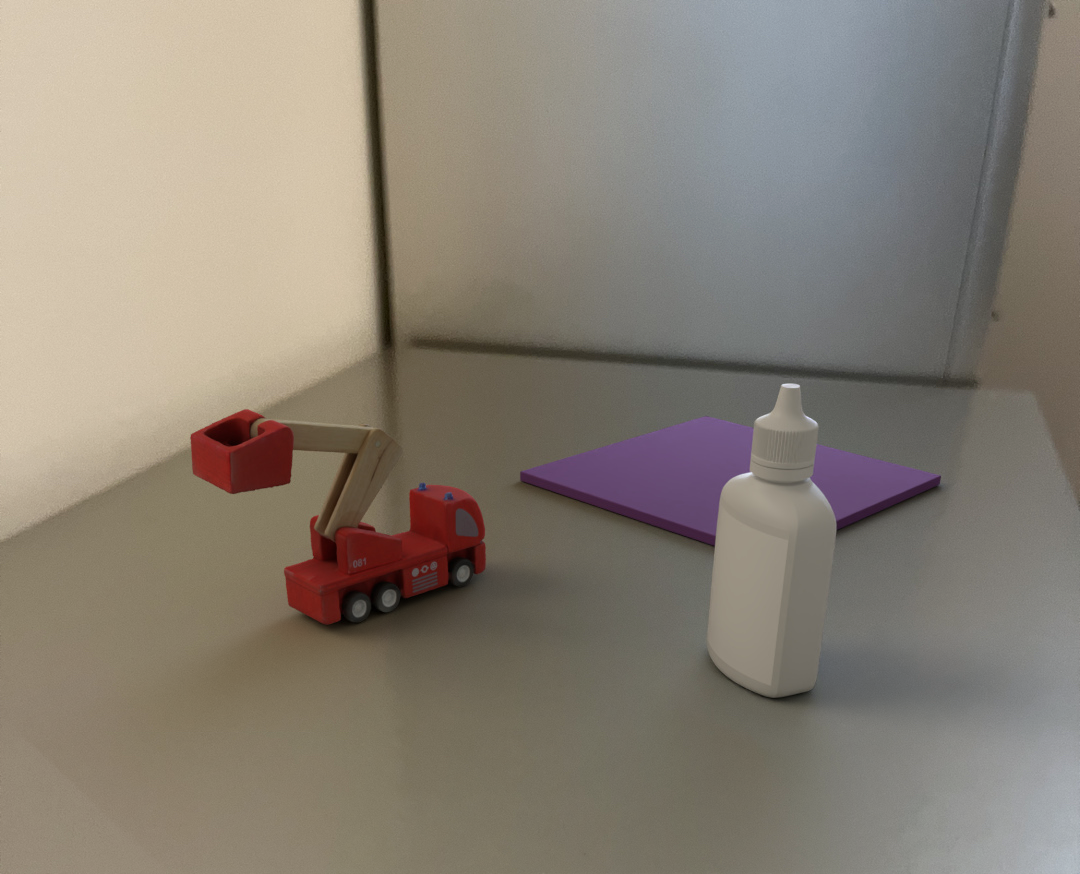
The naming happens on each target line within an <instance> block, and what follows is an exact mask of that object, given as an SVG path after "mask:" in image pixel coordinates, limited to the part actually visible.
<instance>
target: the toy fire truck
mask: <svg viewBox="0 0 1080 874" xmlns="http://www.w3.org/2000/svg"><path fill="white" fill-rule="evenodd" d="M189 439H190V450H191V470H192V474H193V475H194V476H195V477H197V478H199V479H201V480H203V481H205V482H207V483H209V484H211V485H213V486H214V487H217V488H218V489H220V490H222V491H224V492H226V493H227V494H230V495H237V494H240V493H247V492H254V491H259V490H262V489H268V488H269V489H273V488H274V487H276V488H277V487H280V486H285V485H290V484H291V482H292V480H291V479H292V469H293V456H294V454H293V451H305V452H319V453H321V452H323V453H339V454H341V453H342V454H344V455H343V457H342V460H341V461H340V465H338V466H339V467H338V469H337V471H336V473H335V476H334V478H333V481H332V483H331V486H330V488H329V491H328V493H327V495H326V497H325V500H324V502H323V504H322V507H321V509H320V512H319V514H316V515H313V516H312V517H311V518H310V521H309V532H310V546H311V553H312V557H313V558H310V559H307V560H304V561H301V562H298V563H294V564H291V565H287V566H285V567H284V569H283V574H284V577H285V589H286V598H287V603H288V606H289V607H290V608H292V609H294V610H296V611H298V612H300V613H302V614H303V615H305V616H307V617H310V618H311V619H313V620H315V621H317V622H318V623H321V624H323V625H327V626H328V625H331V624H333V623H334V624H335V623H337V622H339V621H341V620H342V615H343V617H344V618H345V619H346V620H347V621H349V622H352V623H361V622H364V621H365V620H366V619H367V618H368V617H369V616H370V613H371V611H372V605H373V606H374V608H375V609H376V610H377V611H379V612H382V613H389V612H390V613H391V612H392V611H394V610H395V609H396V608H397V607H398V605H399V603H400V601H401V598H403V599H409V598H411V597H414V596H417V595H418V596H419V595H420V594H425V593H427V592H429V591H433V590H437V589H438V588H442V587H445V586H447V585H448V584H449V583H451V584H452V585H453V586H455V587H459V588H460V587H465V586H467V585H468V584H469V583H470V582H471V581H472V579H473V577H474V575H480V574H482V573H483V572H484V571H485V570H486V566H487V565H486V564H487V554H486V552H487V547H486V546H487V545H486V542H484V539H485V537H486V525H485V522H484V517H483V514H482V510H481V507H480V506H479V503H478V502H477V500H476V499H475V498H474V497H473V496H472V495H471V494H469V493H468V492H467V491H465V490H463V489H461V488H459V487H454V486H450V485H442V484H426V483H425V482H419V484H418V487H415V488H412V489H409V497H408V500H409V518H410V519H409V523H410V524H409V530H407V531H403V532H399V533H395V534H392V535H391V534H387V533H382V532H378V531H377V530H376V527H375V526H374V525H371V524H369V523H367V522H364V521H362V520H363V518H364V517H365V515H366V513H367V512H368V510H369V508H370V507H371V506H372V503H373V502H374V500H375V499H376V497H377V495H378V494H379V492H380V491H381V489H382V488H383V486H384V485H385V483H386V481H387V479H388V478H389V476H390V474H391V473H392V471H393V470H394V468H395V466H396V465H397V463H398V462H399V460H400V458H401V457H402V455H403V452H404V449H403V448H404V447H403V446H402V445H401V444H400V443H399V442H397V441H396V440H395V439H394V438H393V437H392V436H391V435H389V434H388V433H387V432H386V431H384V430H383V429H381V428H379V427H372V426H371V425H370V424H368V423H364V422H363V423H360V424H359V425H352V424H351V425H350V424H339V423H327V422H314V421H302V420H301V421H300V420H290V419H275V418H274V419H273V418H266V417H265V416H264V415H263V414H260V413H258V412H256V411H253V410H252V409H248V408H244V409H242V410H240V411H236V412H234V413H233V414H230V415H228V416H226V417H223V418H222V419H219V420H217V421H215V422H211V423H210V424H209V425H206V426H205V427H202V428H200V429H198V430H196V431H195V432H192V433H191V434H190V437H189Z"/></svg>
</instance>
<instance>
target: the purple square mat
mask: <svg viewBox="0 0 1080 874" xmlns="http://www.w3.org/2000/svg"><path fill="white" fill-rule="evenodd" d="M753 431H754V427H752V426H748V425H745V424H740V423H736V422H732V421H728V420H723V419H721V418H716V417H712V416H709V415H704V416H701V417H698V418H694V419H691V420H687V421H684V422H681V423H678V424H677V423H676V424H674V425H670V426H667V427H664V428H661V429H658V430H657V429H656V430H655V431H650V432H648V433H647V432H646V433H644V434H641V435H637V436H634V437H631V438H627V439H624V440H621V441H617V442H614V443H611V444H608V445H604V446H601V447H598V448H594V449H591V450H587V451H584V452H581V453H577V454H574V455H571V456H567V457H564V458H561V459H557V460H554V461H551V462H547V463H544V464H541V465H537V466H534V467H530V468H528V469H523V470H521V471H520V472H519V480H520V482H523V483H526V484H529V485H532V486H536V487H538V488H540V489H544V490H547V491H550V492H552V493H556V494H559V495H562V496H564V497H567V498H570V499H574V500H576V501H579V502H583V503H586V504H589V505H592V506H595V507H598V508H600V509H602V510H603V509H604V510H606V511H609V512H612V513H615V514H618V515H621V516H624V517H627V518H630V519H633V520H636V521H639V522H642V523H645V524H648V525H651V526H654V527H657V528H660V529H663V530H666V531H668V532H672V533H674V534H677V535H680V536H684V537H687V538H688V539H689V538H690V539H693V540H696V541H699V542H701V543H704V544H707V545H711V546H712V547H713V546H714V547H715V541H716V530H717V520H718V511H719V502H720V496H721V492H722V489H723V487H724V486H725V484H726V483H727V482H728V481H729V480H730V479H732V478H733V477H736V476H738V475H741V474H745V473H750V461H751V451H752V441H753ZM810 479H811V480H812V482H813V483H814V484H815V485H816V486H817V487H818V488H819V489H820V491H821V492H822V493H823V494H824V496H825V497H826V499H827V500H828V502H829V504H830V506H831V508H832V510H833V512H834V515H835V519H836V531H838V530H841V529H843V528H845V527H847V526H849V525H851V524H854V523H856V522H858V521H861V520H862V519H866V518H867V517H869V516H872V515H874V514H876V513H879V512H881V511H883V510H885V509H888V508H891V507H893V506H894V505H896V504H900V503H901V502H903V501H906V500H909V499H910V498H912V497H915V496H917V495H920V494H922V493H924V492H926V491H929V490H931V489H933V488H935V487H937V486H939V485H941V479H942V475H940V474H937V473H933V472H929V471H924V470H922V469H917V468H914V467H909V466H906V465H902V464H897V463H893V462H890V461H885V460H881V459H878V458H875V457H869V456H866V455H862V454H858V453H854V452H850V451H846V450H842V449H839V448H834V447H831V446H826V445H824V444H823V445H822V444H818V443H817V445H816V453H815V461H814V469H813V475H812V476H811V477H810Z"/></svg>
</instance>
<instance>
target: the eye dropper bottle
mask: <svg viewBox="0 0 1080 874" xmlns="http://www.w3.org/2000/svg"><path fill="white" fill-rule="evenodd" d="M753 428H754V431H753V441H752V451H751V461H750V473H745V474H741V475H738V476H736V477H733V478H732V479H730V480H729V481H728V482H727V483H726V484H725V486H724V487H723V489H722V492H721V496H720V502H719V511H718V520H717V530H716V541H715V546H714V550H713V551H714V552H713V563H712V573H711V574H712V575H711V583H710V584H711V585H710V597H709V608H708V619H707V620H708V621H707V632H706V649H707V653H708V655H709V657H710V659H711V661H712V663H713V664H714V665H715V667H716V668H717V669H718V670H719V671H720V672H721V673H722V674H723V675H724V676H726V678H728V679H729V680H731V681H733V682H734V683H735V684H737V685H739V686H741V687H743V688H745V689H746V690H749V691H750V692H753V693H756V694H758V695H760V696H763V697H766V698H773V699H776V698H783V697H789V696H793V695H797V694H802V693H806V692H809V691H811V690H813V689H814V688H815V685H816V683H817V679H818V672H819V667H820V659H821V658H820V657H821V652H822V644H823V637H824V630H825V623H826V616H827V610H828V609H827V607H828V601H829V593H830V587H831V578H832V572H833V571H832V570H833V566H834V565H833V564H834V557H835V546H836V539H837V530H836V519H835V515H834V512H833V510H832V508H831V506H830V504H829V502H828V500H827V499H826V497H825V496H824V494H823V493H822V492H821V491H820V489H819V488H818V487H817V486H816V485H815V484H814V483H813V482H812V480H811V479H810V477H811V476H812V475H813V469H814V461H815V453H816V445H817V444H818V436H819V428H820V425H819V423H817V421H816V420H815V419H813V418H811V417H809V416H807V415H806V414H805V413H804V410H803V406H802V393H801V385H800V384H797V383H791V382H790V383H782V384H781V385H780V388H779V391H778V396H777V399H776V401H775V405H774V407H773V409H772V411H771V412H769V413H767V414H764V415H761V416H759V417H758V418H755V420H754V422H753Z"/></svg>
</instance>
